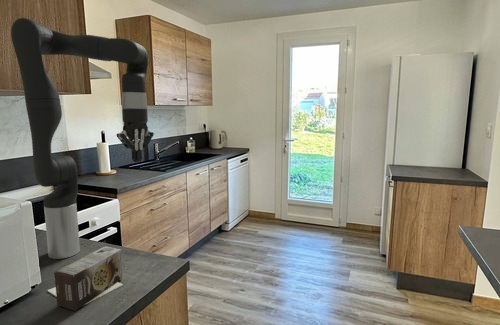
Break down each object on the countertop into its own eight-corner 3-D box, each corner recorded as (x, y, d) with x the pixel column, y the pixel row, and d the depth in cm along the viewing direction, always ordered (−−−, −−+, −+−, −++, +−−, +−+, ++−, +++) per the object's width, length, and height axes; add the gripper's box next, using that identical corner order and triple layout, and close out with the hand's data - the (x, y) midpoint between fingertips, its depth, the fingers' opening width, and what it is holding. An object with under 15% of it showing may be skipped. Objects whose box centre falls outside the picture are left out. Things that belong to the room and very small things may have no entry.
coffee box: (123, 278, 90) (76, 312, 74) (106, 274, 92) (56, 306, 77) (121, 248, 88) (72, 277, 73) (103, 245, 90) (52, 272, 75)
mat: (47, 291, 83) (47, 290, 83) (94, 271, 94) (94, 270, 94) (76, 309, 76) (76, 308, 76) (122, 285, 87) (122, 284, 87)
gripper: (144, 108, 106) (146, 158, 109) (108, 107, 95) (111, 163, 98) (159, 108, 102) (160, 160, 105) (124, 106, 91) (126, 165, 94)
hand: (137, 161), depth 101 cm, fingers closed
